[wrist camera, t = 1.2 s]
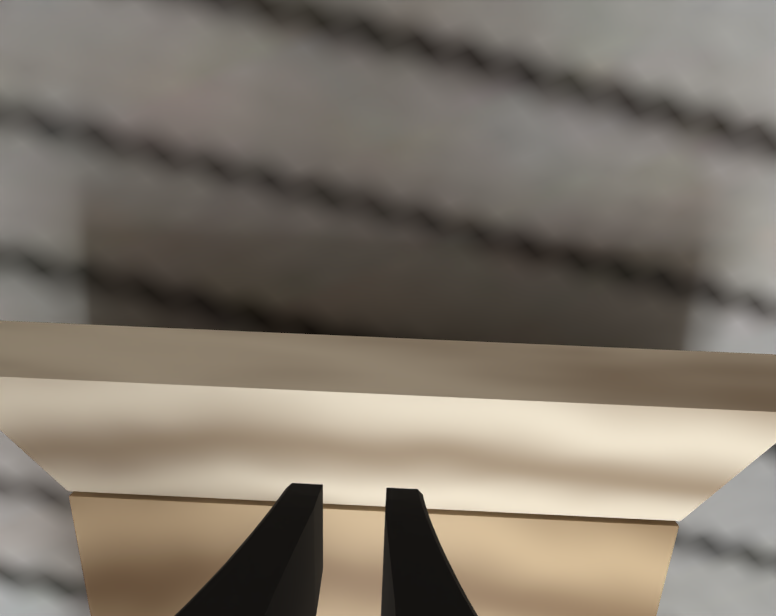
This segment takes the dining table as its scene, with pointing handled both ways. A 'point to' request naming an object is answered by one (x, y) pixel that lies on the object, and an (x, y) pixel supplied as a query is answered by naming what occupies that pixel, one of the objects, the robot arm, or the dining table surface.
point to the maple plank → (384, 418)
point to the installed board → (372, 556)
